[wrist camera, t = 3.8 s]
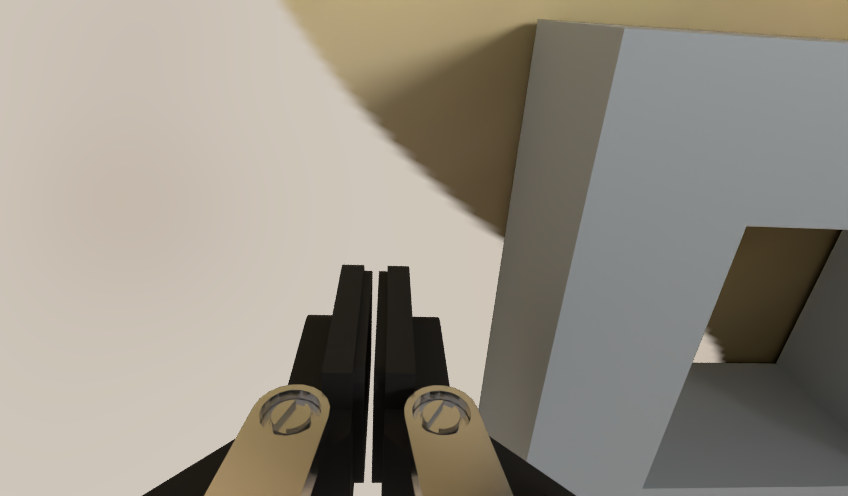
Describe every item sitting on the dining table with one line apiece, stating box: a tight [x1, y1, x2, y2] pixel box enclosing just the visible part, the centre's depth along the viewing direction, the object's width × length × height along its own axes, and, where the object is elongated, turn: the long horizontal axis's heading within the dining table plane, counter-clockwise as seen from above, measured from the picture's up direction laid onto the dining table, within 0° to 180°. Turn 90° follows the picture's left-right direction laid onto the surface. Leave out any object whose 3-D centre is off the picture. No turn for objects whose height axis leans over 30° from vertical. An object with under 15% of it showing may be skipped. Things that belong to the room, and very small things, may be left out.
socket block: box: [479, 19, 848, 496], centre depth 13 cm, size 14×14×5 cm
